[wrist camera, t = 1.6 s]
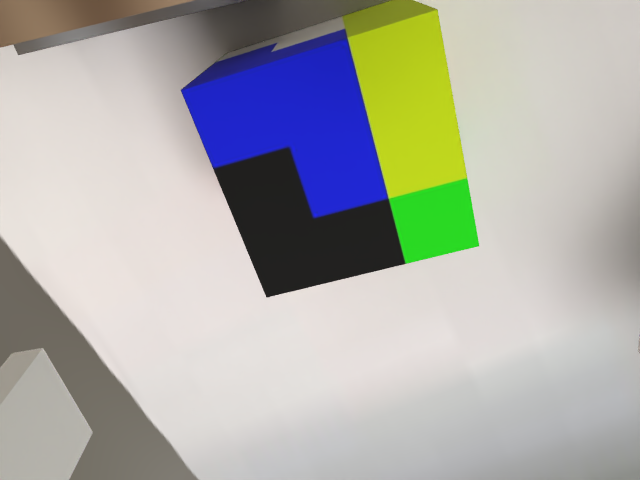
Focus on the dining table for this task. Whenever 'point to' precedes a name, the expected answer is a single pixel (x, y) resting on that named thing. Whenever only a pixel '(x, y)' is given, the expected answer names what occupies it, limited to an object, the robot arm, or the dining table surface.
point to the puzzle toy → (338, 146)
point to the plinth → (84, 18)
